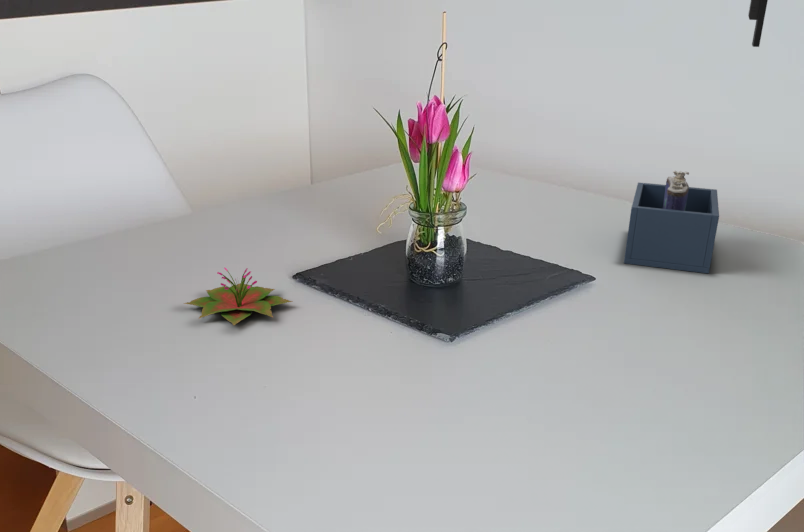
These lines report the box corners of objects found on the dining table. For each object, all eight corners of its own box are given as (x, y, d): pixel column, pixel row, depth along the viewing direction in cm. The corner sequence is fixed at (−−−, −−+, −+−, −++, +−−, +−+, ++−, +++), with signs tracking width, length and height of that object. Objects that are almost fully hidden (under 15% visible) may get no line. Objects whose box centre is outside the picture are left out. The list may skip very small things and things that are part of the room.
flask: (657, 235, 120) (668, 162, 116) (678, 238, 119) (691, 164, 115) (657, 256, 112) (669, 178, 108) (680, 259, 111) (693, 180, 107)
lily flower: (311, 306, 98) (311, 270, 96) (232, 338, 89) (230, 299, 88) (244, 281, 105) (242, 246, 103) (165, 308, 97) (161, 271, 95)
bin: (707, 242, 120) (717, 189, 117) (708, 273, 108) (719, 215, 105) (630, 233, 124) (637, 182, 121) (623, 263, 112) (631, 207, 109)
